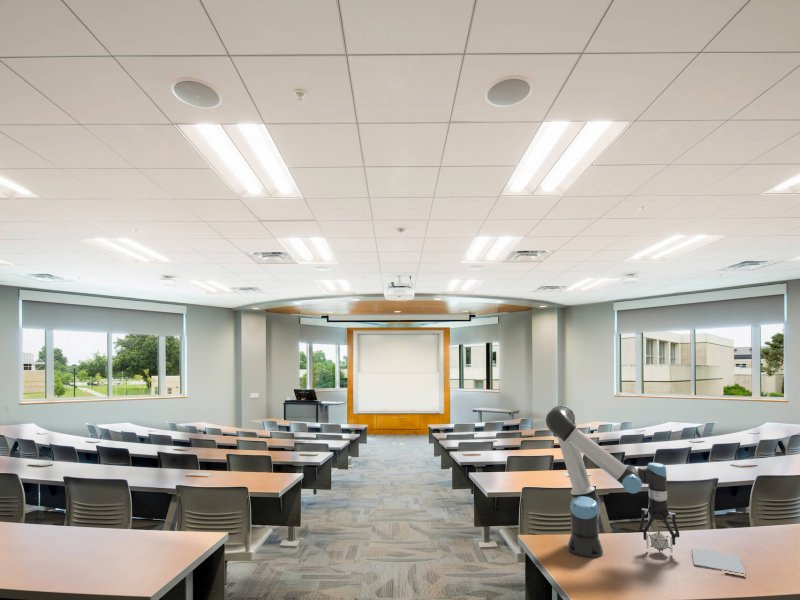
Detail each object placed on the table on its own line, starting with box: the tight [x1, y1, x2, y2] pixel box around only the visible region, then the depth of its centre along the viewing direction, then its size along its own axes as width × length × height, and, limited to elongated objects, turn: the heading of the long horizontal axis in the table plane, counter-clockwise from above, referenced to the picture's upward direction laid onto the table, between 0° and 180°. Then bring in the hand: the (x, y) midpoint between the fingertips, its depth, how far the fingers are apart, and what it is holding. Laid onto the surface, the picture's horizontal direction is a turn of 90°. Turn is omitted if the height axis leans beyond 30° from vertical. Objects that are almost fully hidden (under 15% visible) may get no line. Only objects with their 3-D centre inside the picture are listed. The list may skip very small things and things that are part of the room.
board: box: [691, 547, 746, 575], centre depth 215 cm, size 18×18×2 cm
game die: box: [648, 530, 671, 553], centre depth 225 cm, size 9×8×10 cm
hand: (659, 549), depth 225 cm, fingers closed on game die, 9 cm apart
